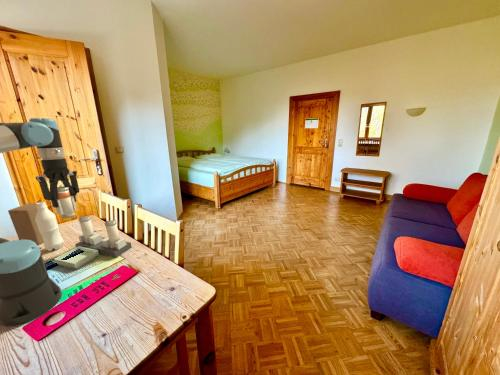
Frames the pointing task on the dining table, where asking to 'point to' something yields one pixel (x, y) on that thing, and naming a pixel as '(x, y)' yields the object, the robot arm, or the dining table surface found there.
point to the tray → (77, 258)
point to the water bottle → (48, 227)
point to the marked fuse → (65, 202)
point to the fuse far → (86, 228)
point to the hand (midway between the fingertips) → (67, 211)
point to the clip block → (104, 245)
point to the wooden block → (26, 222)
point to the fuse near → (112, 232)
